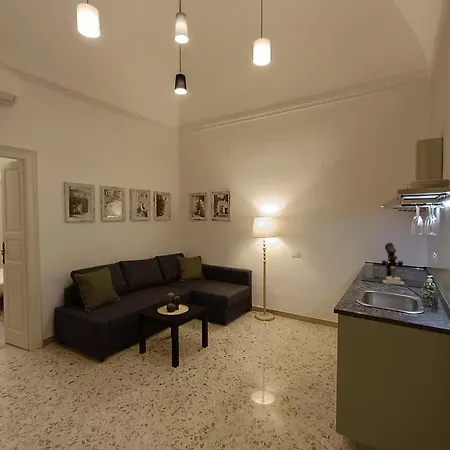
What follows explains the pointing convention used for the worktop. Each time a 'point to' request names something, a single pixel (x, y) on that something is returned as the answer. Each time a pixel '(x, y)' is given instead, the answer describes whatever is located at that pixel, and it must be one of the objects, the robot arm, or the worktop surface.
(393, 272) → the lever
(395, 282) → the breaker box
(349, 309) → the worktop surface
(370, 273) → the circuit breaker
